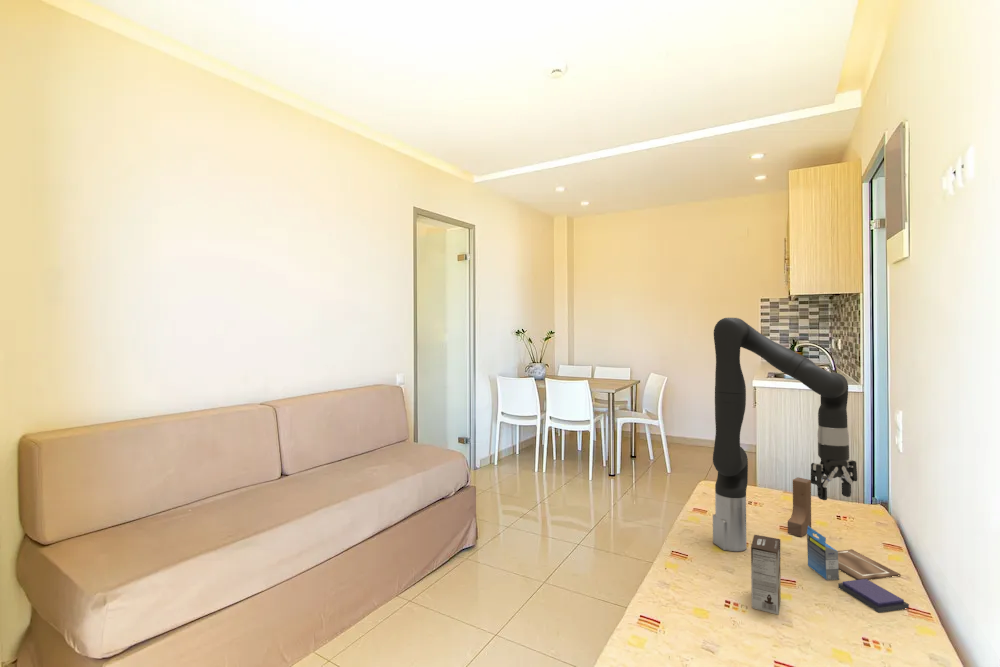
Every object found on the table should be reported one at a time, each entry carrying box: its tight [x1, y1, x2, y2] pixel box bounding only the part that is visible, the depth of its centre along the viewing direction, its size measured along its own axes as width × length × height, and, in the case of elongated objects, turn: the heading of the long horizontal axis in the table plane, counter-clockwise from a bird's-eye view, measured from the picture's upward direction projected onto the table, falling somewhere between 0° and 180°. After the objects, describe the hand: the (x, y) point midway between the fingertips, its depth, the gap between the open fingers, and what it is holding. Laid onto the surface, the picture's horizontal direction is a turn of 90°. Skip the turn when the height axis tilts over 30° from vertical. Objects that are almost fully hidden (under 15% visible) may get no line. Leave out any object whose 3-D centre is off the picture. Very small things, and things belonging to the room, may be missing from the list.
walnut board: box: [837, 549, 901, 581], centre depth 147 cm, size 14×16×1 cm
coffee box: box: [750, 534, 782, 615], centre depth 128 cm, size 9×6×16 cm
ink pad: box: [837, 579, 910, 614], centre depth 130 cm, size 9×12×2 cm
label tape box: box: [806, 526, 840, 581], centre depth 143 cm, size 9×4×12 cm, turn 179°
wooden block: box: [787, 476, 812, 538], centre depth 171 cm, size 9×4×18 cm, turn 128°
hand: (834, 497), depth 142 cm, fingers open, 8 cm apart
